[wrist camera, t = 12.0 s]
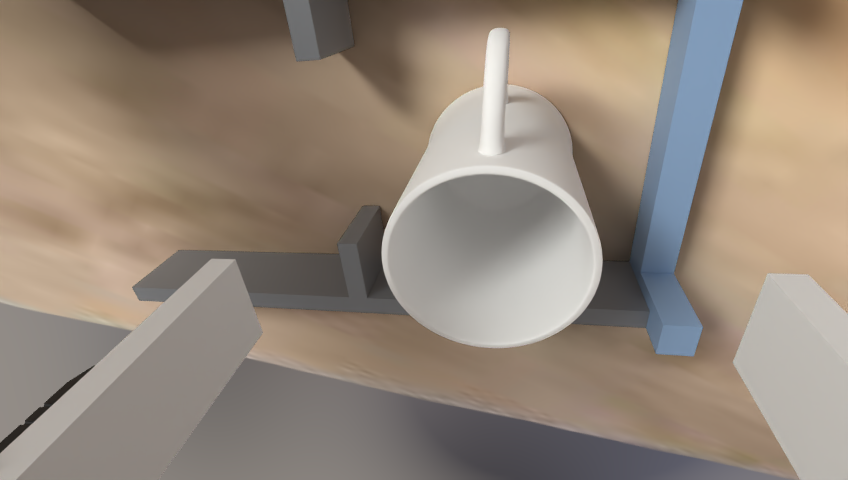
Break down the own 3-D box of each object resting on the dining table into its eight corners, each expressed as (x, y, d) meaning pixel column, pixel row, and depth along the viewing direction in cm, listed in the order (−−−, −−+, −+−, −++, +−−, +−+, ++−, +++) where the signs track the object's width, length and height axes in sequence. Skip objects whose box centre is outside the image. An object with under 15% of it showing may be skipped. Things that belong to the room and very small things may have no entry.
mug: (435, 12, 22) (370, 35, 12) (604, 23, 21) (685, 58, 11) (425, 210, 28) (375, 335, 18) (555, 227, 27) (578, 369, 17)
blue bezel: (699, -117, 18) (789, -165, 12) (747, -123, 18) (864, -177, 12) (626, 276, 28) (655, 353, 22) (655, 277, 28) (693, 356, 22)
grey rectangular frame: (54, -29, 25) (-40, -31, 21) (699, -117, 18) (756, -147, 14) (184, 262, 35) (139, 300, 31) (626, 276, 28) (646, 327, 24)
